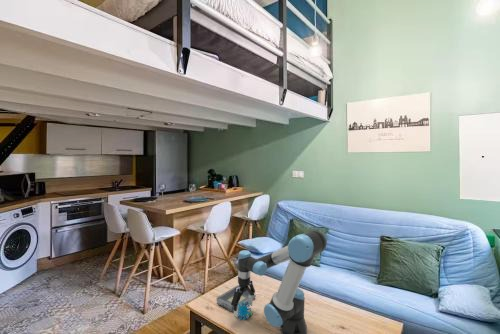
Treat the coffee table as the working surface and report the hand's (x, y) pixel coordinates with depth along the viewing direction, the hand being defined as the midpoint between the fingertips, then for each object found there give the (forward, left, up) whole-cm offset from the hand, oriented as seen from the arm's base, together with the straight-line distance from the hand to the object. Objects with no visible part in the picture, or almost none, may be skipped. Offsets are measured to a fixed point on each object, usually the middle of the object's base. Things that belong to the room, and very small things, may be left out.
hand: (243, 310), depth 154 cm
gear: (0, 0, -5) cm, 5 cm away
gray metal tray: (+15, -10, -4) cm, 18 cm away
